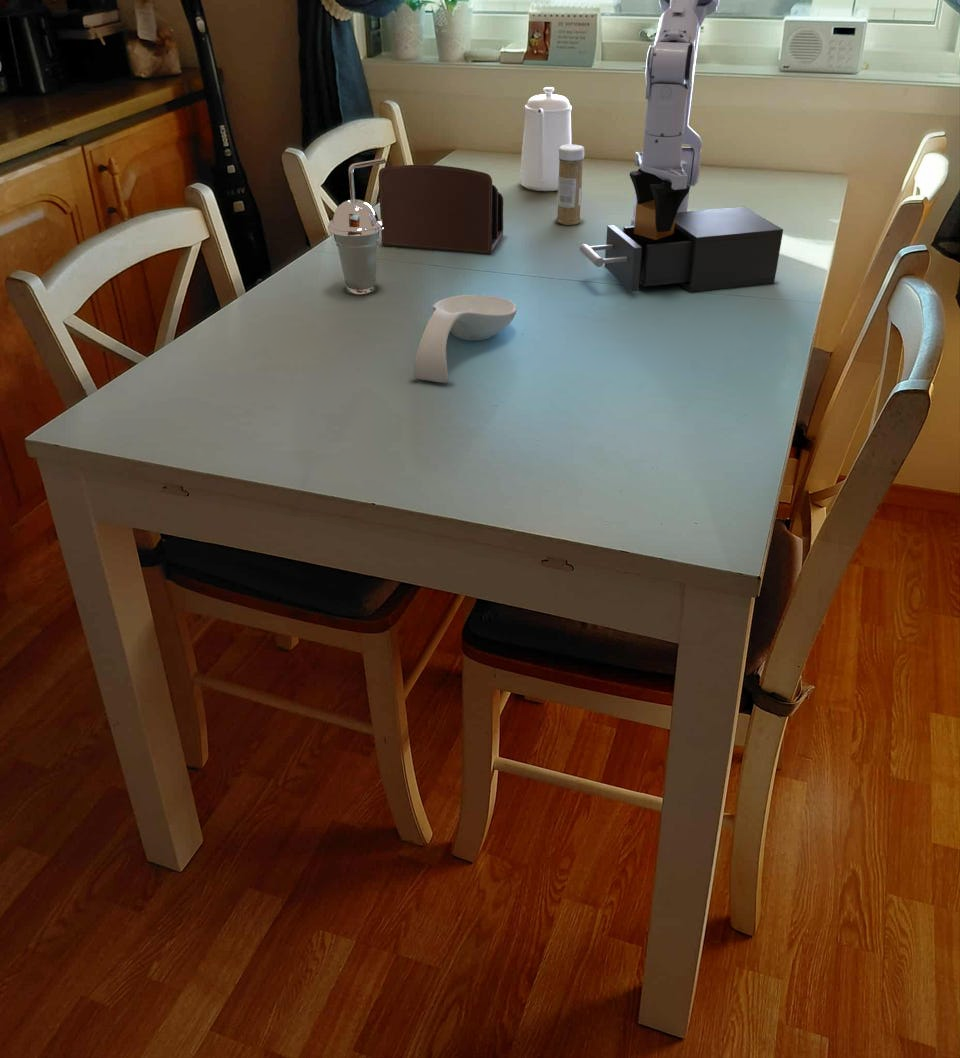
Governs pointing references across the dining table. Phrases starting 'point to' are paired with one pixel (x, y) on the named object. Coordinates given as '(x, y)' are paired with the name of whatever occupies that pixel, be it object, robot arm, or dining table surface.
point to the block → (648, 222)
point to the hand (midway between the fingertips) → (654, 224)
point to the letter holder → (440, 208)
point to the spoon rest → (459, 329)
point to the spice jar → (570, 184)
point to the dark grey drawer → (643, 257)
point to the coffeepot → (544, 140)
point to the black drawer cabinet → (730, 248)
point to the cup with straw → (357, 238)
